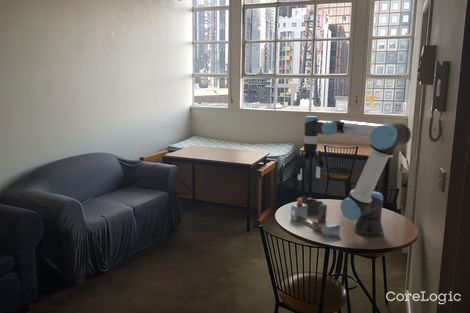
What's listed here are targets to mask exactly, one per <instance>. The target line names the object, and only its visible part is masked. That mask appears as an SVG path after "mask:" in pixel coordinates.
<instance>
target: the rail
mask: <svg viewBox="0 0 470 313" xmlns="http://www.w3.org/2000/svg"><path fill="white" fill-rule="evenodd" d="M307 207H308V205H305V204H303V203H302V206H297V203H296V204H291V208H290V220H291V221H292V222H295V223H298V222H299V223H302V224H304V225H307V227H311V228H312V229H313V225H312V223H313V220H312V221H311V220H310V219H308V214H307ZM340 233H341V225H340V224H339V223H337V222H334V221H333V222H328V223H327V224H322V233H321V235H322V236H323V237H325V238H326V239H331V238H335V237H339V236H340Z"/></svg>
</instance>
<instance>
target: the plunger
mask: <svg viewBox="0 0 470 313" xmlns="http://www.w3.org/2000/svg"><path fill="white" fill-rule="evenodd" d="M296 200H297V203H296V204H297V206H302V198H301V197H298V198H297V199H296Z"/></svg>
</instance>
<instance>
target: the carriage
mask: <svg viewBox="0 0 470 313" xmlns="http://www.w3.org/2000/svg"><path fill="white" fill-rule="evenodd" d="M327 210H328V204H325V203H323V204H319V211H318V216H317V219H314V220H312V222H313V223H312V225H313V228H312V229H313V230H315V231H318V232H319V233H321V234H322V224H327V223H329V222H328V221H327V220H326V218H327Z"/></svg>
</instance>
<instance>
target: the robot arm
mask: <svg viewBox="0 0 470 313" xmlns="http://www.w3.org/2000/svg"><path fill="white" fill-rule="evenodd" d="M303 134H304V135H303V142H304V143H303V151H299V153H298V157H297V159H296V162H295V163H294V166H293V167H294V168H295V169H296V175H297V180H298V181H302V180H303V178H302V177H303V169H302V167H303V166H304V165H305V163H306V162H307V161H308V160H311V159H312V160H313V161H314V163H315V164H316V165H317V166H316V167H315V168H316V170H315V178H318V179H321V172H322V168H323V166H325V163H324V161H323V160H324V159H323V156H322V154H321V150H318V136H319V135H325V136H333V135H335V134H341V135H342V134H343V135H350V136H351V135H352V136H358V137H365V138H369V139H370V143H371V144H370V148H371V152H370V154H369V156H368V158H367V159H366V160H367V161H366V162H365V165H364V167H363V170H362V172H361V173H360V176H359V178H358V181H357V183H356V186H355V188H353V189H351V190H350V192H349V194H348V196H347V197H346V198H344V199H342V201H341V203H340V211H341V214H342V215H343V216H344V217H345V218H347V220H350V221H353V220H354V221H355V220H356V222H355V225H354V229H353V230H354V232H355V233H357V234H359V235H362V236H364V237H371V238H375V237H380V236H383V234H384V228H383V224H382V212H383V203H384V195H383V194H382V193H381V192H378V191H375V188H376V186H377V183H378V181H379V179H380V177H381V174H382V173H383V171H384V170H385V167H386V164H387V162H388V160H389V157H393V156H394V155H395V152H396V151H397V148H398V147H403V146H405V145H406V144H408V143H409V142H410V140H411V137H412V130H411V129H410V127H409V126H407V125H406V124H405V123H401V122H395V123H392V122H389V123H381V124H380V123H374V122H373V123H372V122H360V121H351V120H346V119H339V120H319V116H318V115H317V116H315V115H307V116H305V118H304V133H303Z"/></svg>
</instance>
